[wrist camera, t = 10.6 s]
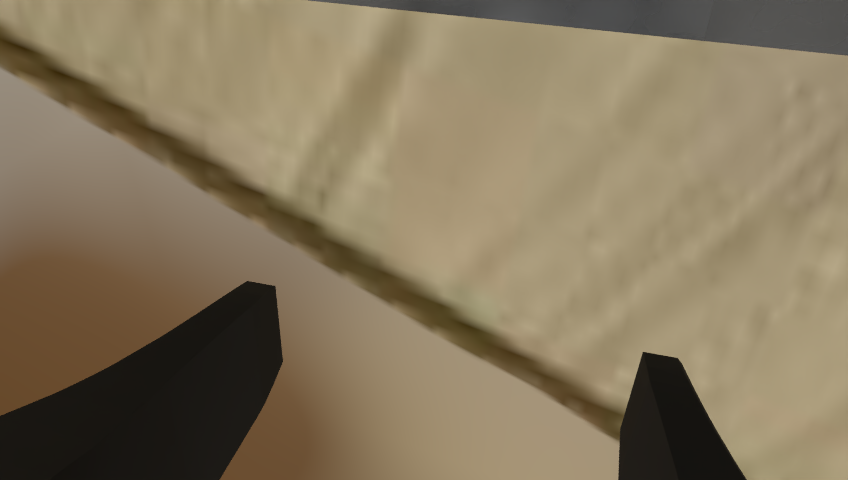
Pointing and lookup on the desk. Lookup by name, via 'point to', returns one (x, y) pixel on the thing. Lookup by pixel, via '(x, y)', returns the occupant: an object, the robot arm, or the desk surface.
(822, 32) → the keyhole plate
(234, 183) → the desk surface
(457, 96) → the desk surface
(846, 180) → the desk surface
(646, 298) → the desk surface
